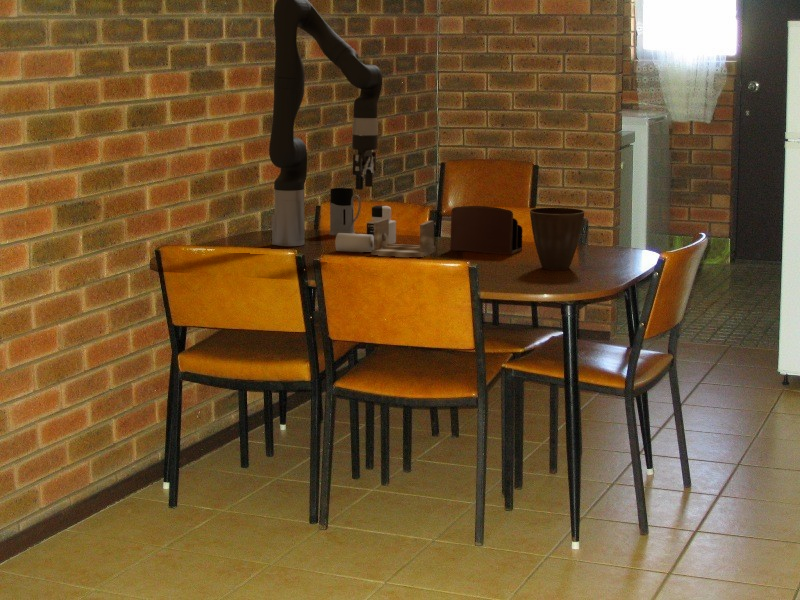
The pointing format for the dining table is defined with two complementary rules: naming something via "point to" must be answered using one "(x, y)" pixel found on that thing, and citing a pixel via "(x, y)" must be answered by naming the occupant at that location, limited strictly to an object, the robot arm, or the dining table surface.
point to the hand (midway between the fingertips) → (364, 188)
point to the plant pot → (556, 235)
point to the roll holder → (402, 250)
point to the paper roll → (354, 242)
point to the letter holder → (485, 230)
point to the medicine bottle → (380, 214)
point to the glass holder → (342, 211)
